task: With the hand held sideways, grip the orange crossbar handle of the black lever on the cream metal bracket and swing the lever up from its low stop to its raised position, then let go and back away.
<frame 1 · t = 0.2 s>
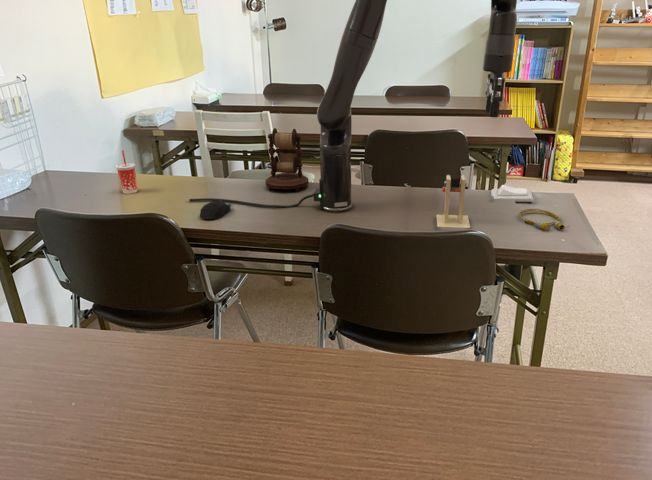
hand: (491, 114, 156), 29 cm above the table, tool pointing down, fingers open, 8 cm apart
bracket: (452, 224, 158), on the table
extension cord: (539, 222, 160), on the table
gaming mouse: (218, 213, 169), on the table
light switch: (511, 198, 180), on the table
lever: (454, 186, 158), point 10 cm above the table, hinge at -25.0°
brown spool stand: (287, 187, 193), on the table
beverage cup: (130, 192, 189), on the table
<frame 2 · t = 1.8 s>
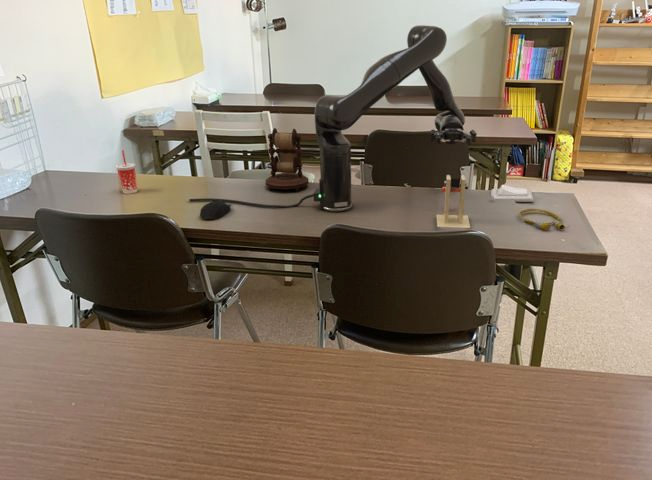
hand: (453, 140, 169), 19 cm above the table, tool horizontal, fingers open, 8 cm apart
nothing on the table moved.
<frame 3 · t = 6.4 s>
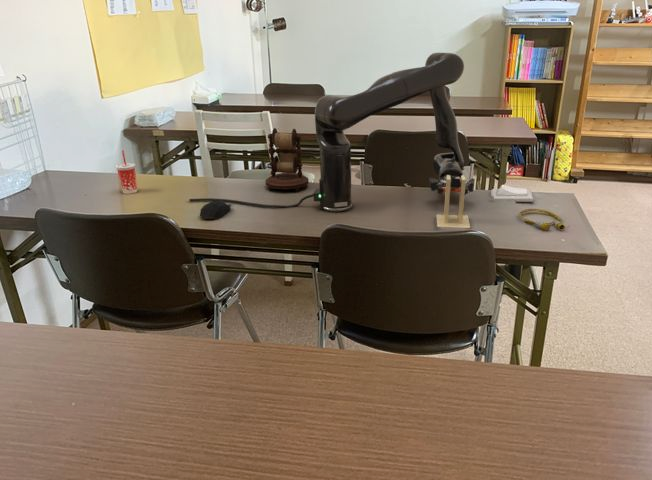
hand: (453, 191, 162), 7 cm above the table, tool horizontal, fingers closed on lever, 6 cm apart
lever: (454, 186, 158), point 10 cm above the table, hinge at -25.0°, touching gripper
everything else where it was.
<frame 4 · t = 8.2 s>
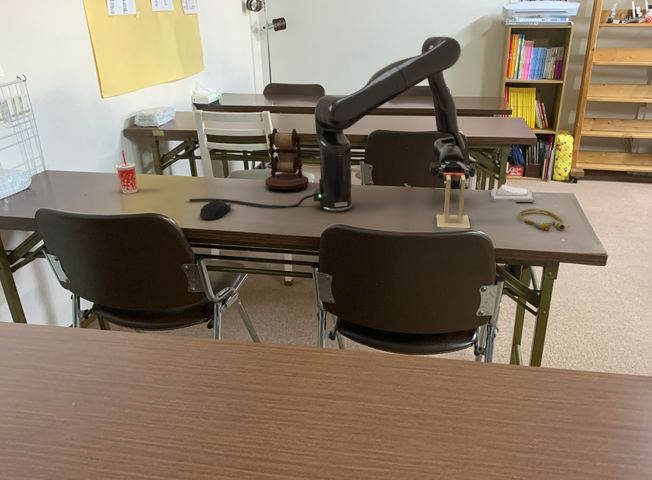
hand: (454, 176, 161), 12 cm above the table, tool horizontal, fingers closed on lever, 6 cm apart
lever: (454, 179, 158), point 12 cm above the table, hinge at -3.5°, touching gripper
everything else where it was.
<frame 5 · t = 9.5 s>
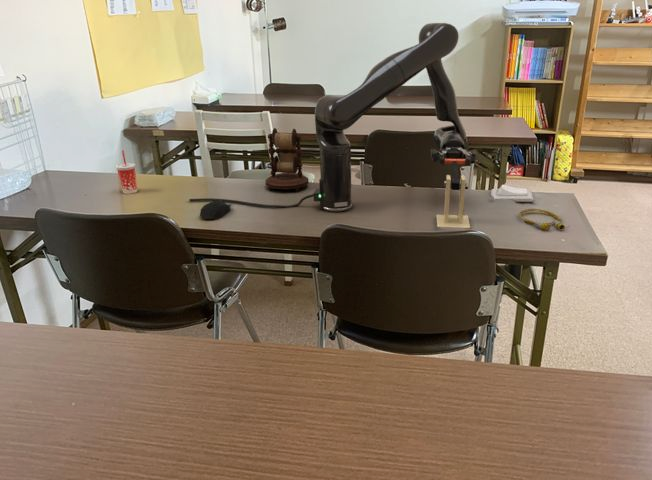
hand: (455, 162, 158), 16 cm above the table, tool horizontal, fingers closed on lever, 6 cm apart
lever: (455, 172, 157), point 14 cm above the table, hinge at 19.2°, touching gripper
everything else where it was.
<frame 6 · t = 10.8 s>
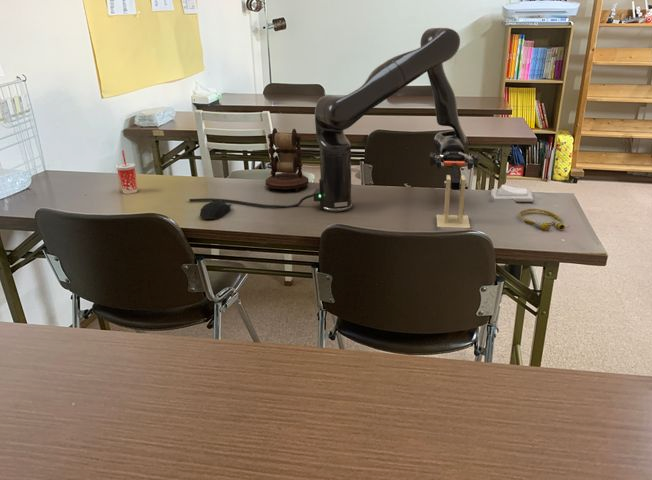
hand: (454, 165, 159), 15 cm above the table, tool horizontal, fingers open, 8 cm apart
lever: (454, 174, 157), point 13 cm above the table, hinge at 15.4°
everything else where it was.
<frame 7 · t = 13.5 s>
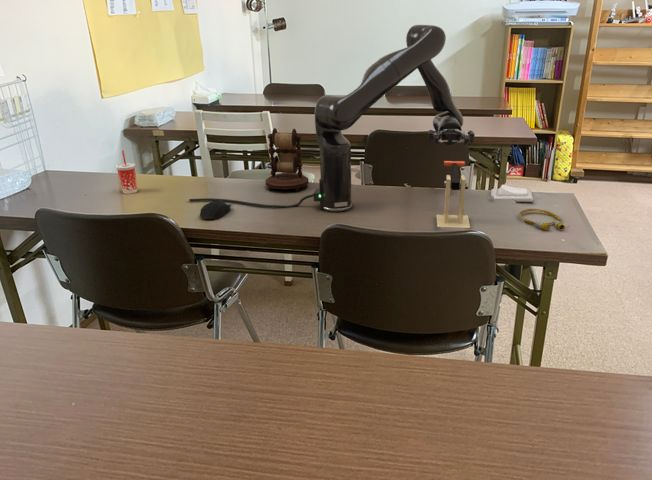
hand: (451, 141, 169), 19 cm above the table, tool horizontal, fingers open, 8 cm apart
nothing on the table moved.
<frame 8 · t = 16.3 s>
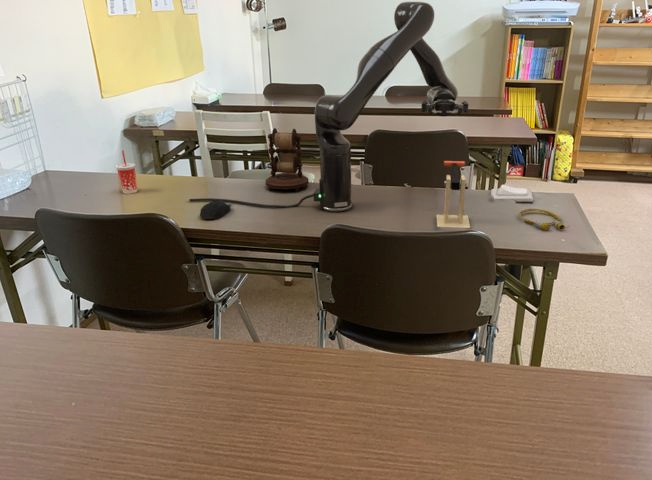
hand: (445, 110, 166), 28 cm above the table, tool horizontal, fingers open, 8 cm apart
nothing on the table moved.
at the end: lever at +15° (first picture: -25°); the gripper is holding nothing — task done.
